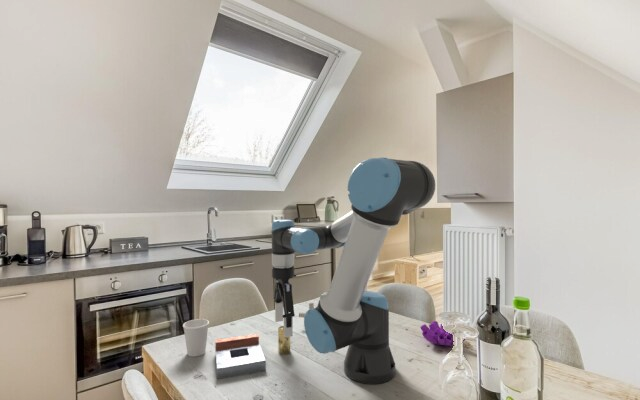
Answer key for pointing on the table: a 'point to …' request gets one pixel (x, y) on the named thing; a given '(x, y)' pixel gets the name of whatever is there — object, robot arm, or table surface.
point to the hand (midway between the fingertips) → (283, 328)
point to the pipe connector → (311, 305)
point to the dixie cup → (196, 336)
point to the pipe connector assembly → (437, 334)
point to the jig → (239, 356)
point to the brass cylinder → (283, 342)
